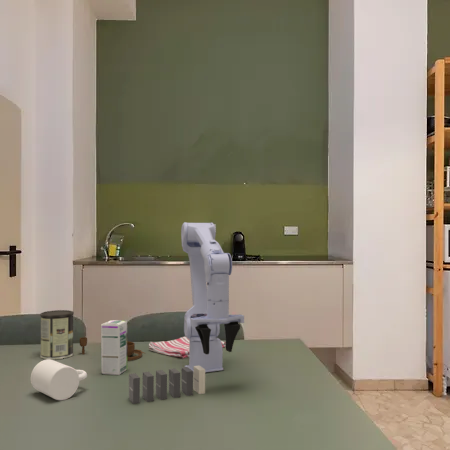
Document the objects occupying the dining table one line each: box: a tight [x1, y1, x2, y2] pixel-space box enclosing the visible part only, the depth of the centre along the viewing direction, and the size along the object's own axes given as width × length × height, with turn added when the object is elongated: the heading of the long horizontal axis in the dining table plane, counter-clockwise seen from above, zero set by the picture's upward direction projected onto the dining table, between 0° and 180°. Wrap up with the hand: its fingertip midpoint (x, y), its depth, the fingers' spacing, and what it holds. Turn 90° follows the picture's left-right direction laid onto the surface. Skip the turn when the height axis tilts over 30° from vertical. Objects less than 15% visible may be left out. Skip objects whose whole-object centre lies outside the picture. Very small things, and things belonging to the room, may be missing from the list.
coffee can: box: [40, 309, 74, 361], centre depth 159 cm, size 10×10×14 cm
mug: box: [30, 359, 88, 401], centre depth 123 cm, size 12×10×8 cm
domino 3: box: [155, 369, 168, 401], centre depth 120 cm, size 2×4×6 cm, turn 25°
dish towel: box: [148, 336, 226, 360], centre depth 170 cm, size 17×23×4 cm
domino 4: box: [168, 368, 181, 399], centre depth 122 cm, size 2×4×6 cm, turn 25°
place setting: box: [79, 336, 145, 362], centre depth 161 cm, size 18×20×6 cm
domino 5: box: [180, 366, 194, 397], centre depth 123 cm, size 2×4×6 cm, turn 25°
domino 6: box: [193, 366, 206, 395], centre depth 125 cm, size 2×4×6 cm, turn 25°
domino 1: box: [128, 372, 141, 405], centre depth 117 cm, size 2×4×6 cm, turn 25°
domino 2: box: [141, 371, 155, 403], centre depth 119 cm, size 2×4×6 cm, turn 25°
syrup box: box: [100, 319, 129, 376], centre depth 141 cm, size 6×6×14 cm
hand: (217, 352), depth 127 cm, fingers open, 6 cm apart
